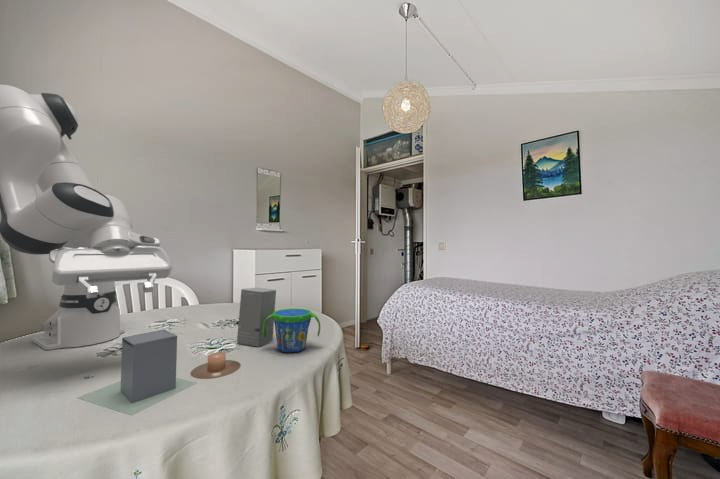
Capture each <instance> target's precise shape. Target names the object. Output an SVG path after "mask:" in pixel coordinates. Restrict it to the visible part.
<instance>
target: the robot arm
mask: <svg viewBox="0 0 720 479" xmlns="http://www.w3.org/2000/svg"><path fill="white" fill-rule="evenodd" d="M78 121H79V119H78V115H77V113H76V110H75V109H74V108H73V107H72V105H71V104H70V103H69V102H67V101H66V100H65V99H64V98H63V97H62V96H60V95H59V94H56V93H51V92H50V93H49V92H40V93H38V94H35V93H29V92H26V91H25V90H23V89H21V88H19V87H17V86H13V85H9V84H0V215H1V216H0V217H1V219H0V236H1V238H2V239H3V241H4V242H5V244H7V245H8V247H10V248H11V249H13V250H14V251H17V252H20V253H23V254H28V255H36V256H38V255H42V256H43V255H49V256H48V260H49V261H50V262H51V264H53V268H52V277H51V282H52V283H54V284H55V285H56V286H64V287H63V288H64V290H63V291H64V292H63V294H62V295H60V297H61V298H60V300H59V304H58V306H59V309H58V310H56V311H55V312H54V313H53V314H52V315H51V316H50V317H49V318H47V319H46V320H45V322H43V323H41V324H40V325H41V326H40V330H41V331H42V332H44V334H42V335H38V336H34V337H33V339H32V343H35V344H36V345H37V346H39V347H40V348H42V350H45V351H49V350H55V349H56V350H57V349H62V348H63V349H64V348H77V347H83V346H91V345H95V344H100V343H104V342H108V341H112V340H113V339H117V338H118V337H120V335H121V334H123V333H125V328H122V326H121V325H122V324H121V311H120V307H119V306H117V305H116V304H115V303H116V302H117V291H116V290H115V285H116V282H128V281H141V280H142V281H143V280H146V281H147V282H144V284H143V287H142V289H143V292H144V293H146V294H147V293H153V291H154V283H155V281H156V279H157V280H158V279H159V280H160V279H167V278H168V277H169V275H170V274H171V271H172V268H173V266H172V265H173V264H172V261H171V260H170V257H169V254H168V253H167V251H166V250H165V249H164V248H162V247H161V241H160V239H159V238H157V237H152V236H147V235H144V234H139V233H137V232H134V231H133V222H132V218H131V215H130V213H129V211H128V209H127V207H126V206H125V204H124V203H123V202H122V200H120V199H119V198H118V197H116V196H113V195H110V194H103V193H101V191H99V190H97V189H96V188H95V186H94V185H93V183H92V182H91V180H90V179H89V177H88V175H87V173H86V172H85V171H84V169H83V167H82V165H81V164H80V162H79V160H78V159H77V158H76V156H75V155H74V154H73V153H72V151H71V150H70V149H69V148H68V146H67V145H66V143H65V142H64V140H63V137H64V136H66V137H67V138H68V140H69V141H71V140H72V135H74V134H75V133H76V132H77V130H78V127H79V124H78ZM37 186H38V188H39V189H40V191H41V194H39V195H37V194H38V193H37V190H36V188H37Z"/></svg>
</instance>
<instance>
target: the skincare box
mask: <svg viewBox="0 0 720 479" xmlns="http://www.w3.org/2000/svg"><path fill="white" fill-rule="evenodd" d="M240 291H241V292H240V302H239V313H238V314H239V315H238V324H237V325H238V326H237V336H236V344H239V345H244V346H245V345H246V346H250V347H251V346H252V347H257V348H260V347H262V346H264V345H267V344H269V343H271V342H270V341H272V340H273V339H274V328H275V323H274V319H273V318H269V319H268V320H267V322H266V338H264V337H263V325H264V322H265V320H266V318H267V317H268V316H270V315H271V314H273V313H274V312H275V309H276V298H277V297H276V295H277V290H276V289H270V288H263V287H248V288H242V289H241V290H240ZM268 342H269V343H268ZM272 342H273V341H272ZM266 343H267V344H266Z"/></svg>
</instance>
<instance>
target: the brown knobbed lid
mask: <svg viewBox="0 0 720 479" xmlns="http://www.w3.org/2000/svg"><path fill="white" fill-rule="evenodd" d="M226 355H227V354H226V352H223V351H219V352H212V353H210V354H208V355H207V362H205V363H202V364H200V365H198V366H196V367H194V368H193V369H191V371H190V376H191V377H192V378H195V379H198V380H199V379H201V380H212V379H217V378H222V377H225V376H229V375H231V374H234V373H235V372H237V371H238V370H240V368H241V363H240V362H239V361H236V360H231V359H226Z"/></svg>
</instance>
